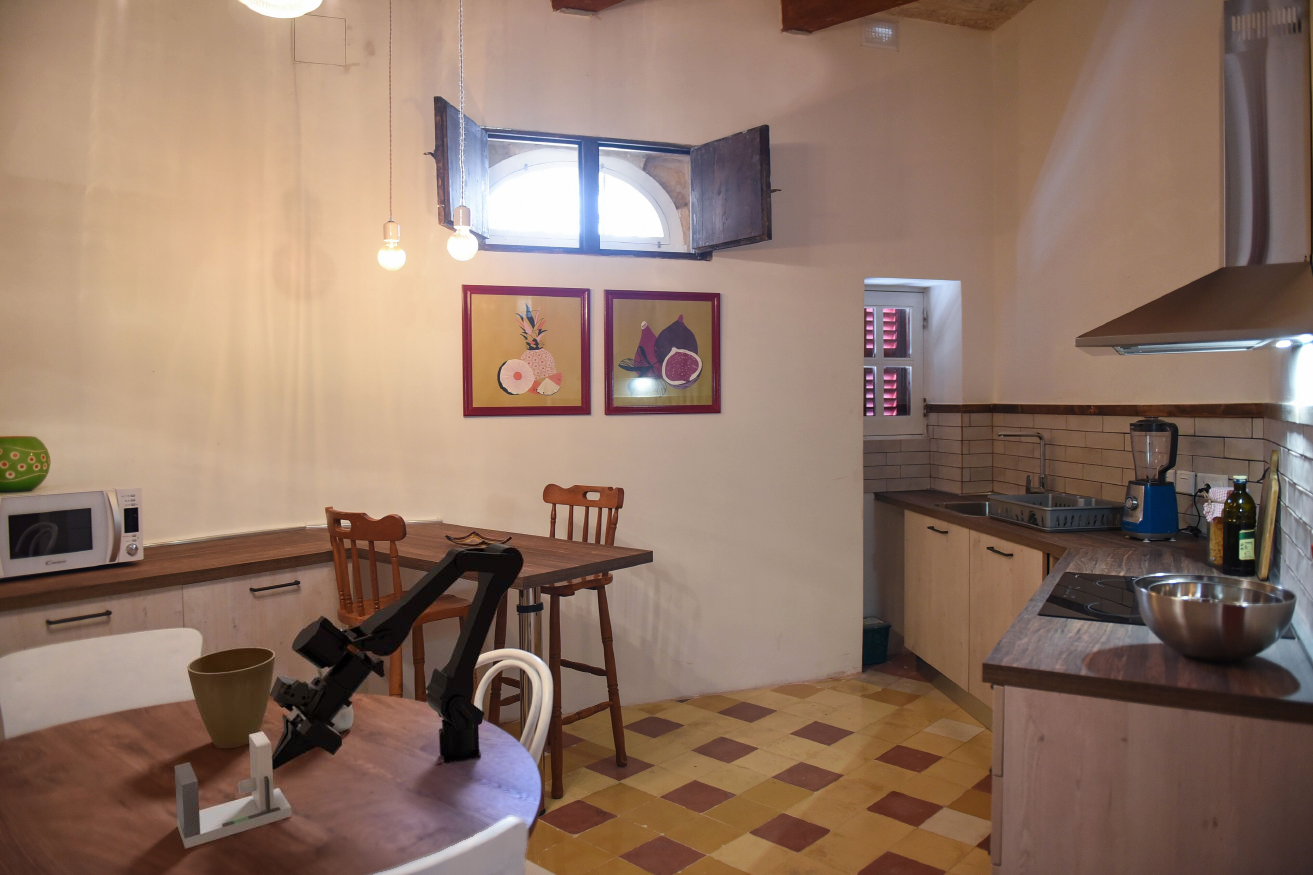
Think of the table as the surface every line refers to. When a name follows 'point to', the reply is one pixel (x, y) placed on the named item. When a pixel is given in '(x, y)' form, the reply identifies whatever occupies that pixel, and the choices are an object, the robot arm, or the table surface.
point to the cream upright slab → (259, 772)
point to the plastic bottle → (345, 714)
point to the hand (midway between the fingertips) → (270, 767)
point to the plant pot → (232, 692)
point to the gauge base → (236, 818)
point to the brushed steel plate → (187, 800)
